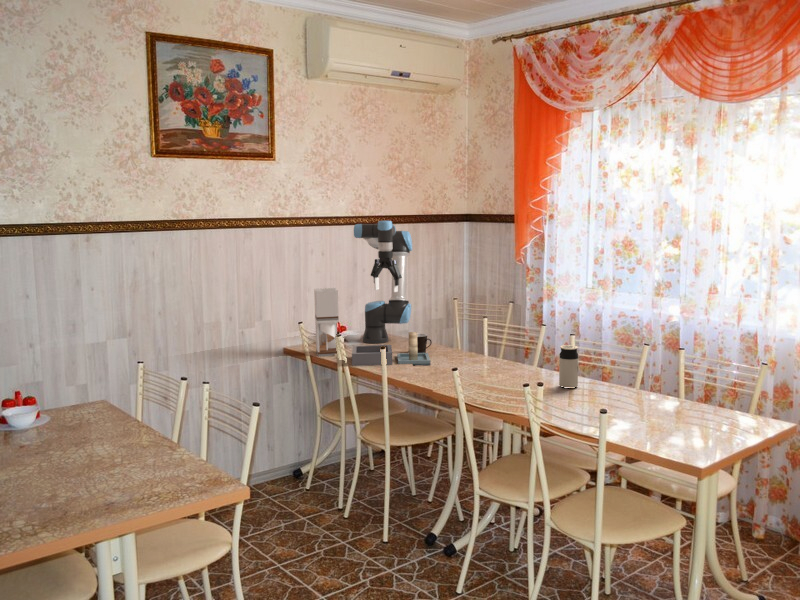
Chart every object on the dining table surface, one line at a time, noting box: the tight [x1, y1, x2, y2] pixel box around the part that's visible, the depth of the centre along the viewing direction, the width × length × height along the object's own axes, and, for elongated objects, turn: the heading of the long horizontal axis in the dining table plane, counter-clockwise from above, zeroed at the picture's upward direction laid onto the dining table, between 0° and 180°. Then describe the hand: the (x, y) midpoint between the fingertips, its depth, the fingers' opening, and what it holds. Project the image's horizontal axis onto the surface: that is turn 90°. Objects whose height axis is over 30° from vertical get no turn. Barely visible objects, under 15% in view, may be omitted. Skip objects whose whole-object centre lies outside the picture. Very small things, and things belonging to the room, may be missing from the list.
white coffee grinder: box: [313, 287, 339, 357], centre depth 405 cm, size 11×11×35 cm
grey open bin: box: [351, 344, 393, 367], centre depth 384 cm, size 20×20×7 cm
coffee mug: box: [417, 333, 432, 353], centre depth 402 cm, size 12×9×10 cm
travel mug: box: [558, 344, 579, 388], centre depth 330 cm, size 8×8×18 cm
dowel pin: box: [408, 331, 418, 360], centre depth 384 cm, size 4×4×14 cm
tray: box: [396, 352, 431, 367], centre depth 385 cm, size 18×16×2 cm
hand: (386, 290), depth 395 cm, fingers open, 13 cm apart
